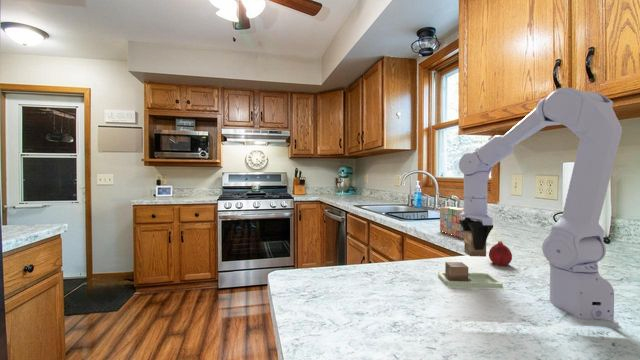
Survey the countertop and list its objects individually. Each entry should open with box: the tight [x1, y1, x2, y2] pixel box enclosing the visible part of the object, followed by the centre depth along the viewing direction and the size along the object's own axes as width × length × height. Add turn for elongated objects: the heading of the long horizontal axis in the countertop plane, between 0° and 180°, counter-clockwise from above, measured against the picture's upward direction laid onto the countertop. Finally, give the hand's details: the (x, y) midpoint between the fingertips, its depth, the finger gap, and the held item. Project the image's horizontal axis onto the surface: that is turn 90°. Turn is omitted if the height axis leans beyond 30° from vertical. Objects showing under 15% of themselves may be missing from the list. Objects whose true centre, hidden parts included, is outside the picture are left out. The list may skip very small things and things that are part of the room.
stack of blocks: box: [439, 206, 465, 240], centre depth 129 cm, size 21×6×12 cm, turn 11°
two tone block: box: [463, 231, 487, 258], centre depth 79 cm, size 4×4×6 cm
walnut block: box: [444, 261, 469, 281], centre depth 71 cm, size 4×4×4 cm
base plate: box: [435, 271, 509, 291], centre depth 71 cm, size 10×13×2 cm
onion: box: [488, 240, 513, 267], centre depth 85 cm, size 6×6×8 cm
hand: (475, 247), depth 79 cm, fingers closed on two tone block, 4 cm apart
